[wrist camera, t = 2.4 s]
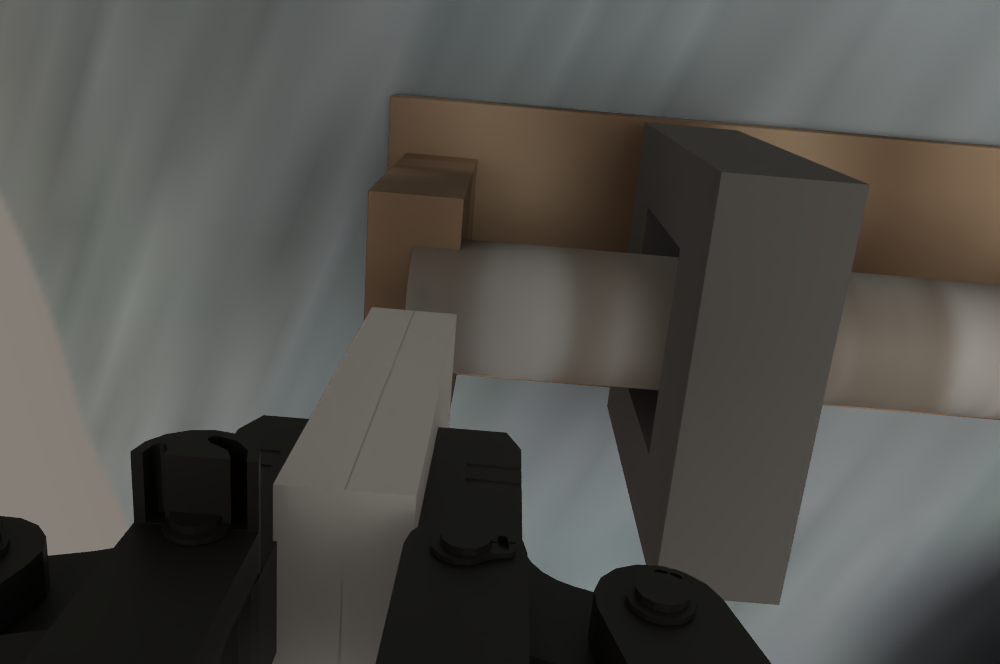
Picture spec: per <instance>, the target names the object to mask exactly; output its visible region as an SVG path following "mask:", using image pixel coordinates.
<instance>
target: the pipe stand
mask: <svg viewBox="0 0 1000 664" xmlns="http://www.w3.org/2000/svg"><path fill="white" fill-rule="evenodd" d="M645 122H647V123H658V124H670V125H682V126H693V127H705V128H716V129H728V130H738V131H740V132H743V133H745V134H747V135H750V136H752V137H755V138H757V139H760V140H762V141H765V142H767V143H769V144H772V145H774V146H777V147H779V148H782V149H784V150H786V151H789V152H791V153H794V154H796V155H799V156H801V157H804V158H806V159H808V160H811V161H813V162H816V163H818V164H821V165H823V166H826V167H828V168H830V169H833V170H835V171H838V172H840V173H843V174H845V175H848V176H850V177H852V178H855V179H857V180H860V181H862V182H865V183H867V184H869V185H870V187H869V192H868V197H867V201H866V206H865V210H864V215H863V220H862V224H861V229H860V233H859V238H858V243H857V247H856V252H855V257H854V261H853V266H852V270H851V275H850V280H849V284H848V289H847V293H846V298H845V303H844V307H843V312H842V317H841V321H840V326H839V330H838V335H837V340H836V344H835V349H834V353H833V358H832V363H831V367H830V372H829V376H828V381H827V386H826V390H825V395H824V400H823V404H822V405H828V406H840V407H852V408H863V409H875V410H887V411H899V412H911V413H923V414H935V415H947V416H959V417H971V418H983V419H995V420H1000V146H992V145H980V144H969V143H957V142H945V141H934V140H922V139H910V138H899V137H887V136H876V135H864V134H852V133H841V132H829V131H818V130H806V129H794V128H783V127H771V126H760V125H748V124H736V123H725V122H713V121H702V120H690V119H678V118H667V117H655V116H644V115H632V114H620V113H609V112H597V111H586V110H574V109H562V108H551V107H539V106H527V105H516V104H504V103H493V102H481V101H469V100H458V99H446V98H435V97H423V96H411V95H400V94H395V95H392V96H391V102H390V126H389V151H388V172H387V173H386V174H385V175H384V176H383V177H382V178H381V179H380V180H379V181H378V182H377V183H376V184H375V185H374V186H373V187H372V188H371V189H370V190H369V191H368V219H367V248H366V277H365V306H364V320H365V318H366V317H367V315H368V313H369V311H370V310H371V308H372V307H376V308H388V309H400V310H412V311H424V312H436V313H448V314H457V318H456V332H455V347H454V361H453V375H452V389H451V402H452V396H453V391H454V386H455V380H456V375H457V374H458V375H470V376H482V377H494V378H506V379H518V380H530V381H542V382H554V383H566V384H577V385H589V386H601V387H610V386H613V387H625V388H637V389H649V390H659V386H660V379H661V372H662V366H663V359H664V353H665V346H666V339H667V333H668V326H669V319H670V313H671V306H672V300H673V293H674V286H675V280H676V273H677V267H678V260H679V257H668V256H656V255H645V254H633V253H628V247H629V239H630V231H631V224H632V216H633V209H634V201H635V194H636V186H637V178H638V171H639V163H640V156H641V148H642V140H643V133H644V125H645ZM450 407H451V404H450Z"/></svg>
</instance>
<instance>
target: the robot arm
mask: <svg viewBox="0 0 1000 664" xmlns="http://www.w3.org/2000/svg"><path fill="white" fill-rule="evenodd" d="M456 318H457V314H448V313H436V312H424V311H412V310H400V309H388V308H376V307H372V308H371V310H370V311H369V313H368V315H367V317H366V318H365V320H364V322H363V324H362V326H361V327H360V329H359V331H358V333H357V335H356V336H355V338H354V340H353V342H352V344H351V345H350V347H349V349H348V351H347V353H346V354H345V356H344V358H343V360H342V362H341V363H340V365H339V367H338V369H337V370H336V372H335V374H334V376H333V378H332V379H331V381H330V383H329V385H328V387H327V388H326V390H325V392H324V394H323V396H322V397H321V399H320V401H319V403H318V405H317V406H316V408H315V410H314V412H313V414H312V415H311V417H310V419H302V418H290V417H278V416H266V415H263V416H262V417H260V418H258V419H256V420H254V421H252V422H251V423H249V424H247V425H245V426H243V427H241V428H239V429H238V430H237V432H236V433H235V434H234V433H229V432H223V431H217V430H189V431H183V432H177V433H170V434H165V435H163V436H160V437H157V438H154V439H151V440H148V441H145V442H144V443H142V444H141V445H139V446H138V447H137V448H135V449H134V450H132V451H131V470H132V489H133V507H134V523H133V524H132V526H131V527H130V528H129V529H128V531H127V532H126V533H125V534H124V536H123V537H122V538H121V539H120V541H119V542H118V543H117V544H116V546H115V547H114V548H111V549H105V550H98V551H91V552H81V553H72V554H62V555H52V556H48V555H47V543H46V536H45V534H44V533H43V531H42V530H41V529H40V527H39V526H38V525H36V524H34V523H31V522H29V521H27V520H24V519H22V518H14V517H4V516H0V664H272V662H273V664H771V663H770V661H769V660H768V659H767V657H766V656H765V655H764V653H763V652H762V651H761V649H760V648H759V647H758V645H757V644H756V643H755V641H754V640H753V639H752V637H751V636H750V635H749V633H748V632H747V631H746V629H745V628H744V627H743V625H742V624H741V623H740V621H739V620H738V619H737V618H736V616H735V615H734V614H733V612H732V611H731V610H730V608H729V607H728V606H727V604H726V603H725V602H724V600H723V599H722V598H721V597H720V596H719V595H718V594H717V593H716V592H715V591H714V590H713V589H711V588H710V587H709V586H708V585H707V584H706V583H704V582H702V581H700V580H698V579H696V578H694V577H692V576H690V575H689V574H687V573H684V572H682V571H679V570H676V569H673V568H672V569H670V568H669V567H664V566H658V565H654V566H652V565H632V566H627V567H622V568H616V569H614V570H613V571H611V572H609V573H608V574H606V575H604V576H603V577H601V578H600V580H599V582H598V584H597V586H596V588H595V590H594V592H591V591H588V590H584V589H581V588H577V587H574V586H571V585H569V584H566V583H563V582H560V581H558V580H556V579H554V578H552V577H550V576H549V575H547V574H545V573H543V572H542V571H541V570H540V569H538V568H537V567H536V566H535V565H534V564H533V563H531V561H530V560H529V558H528V557H527V551H526V548H525V545H524V543H523V540H522V490H521V449H520V448H519V447H518V446H517V444H516V443H515V442H514V441H513V440H512V439H511V437H510V436H509V435H508V434H507V433H503V432H491V431H479V430H467V429H455V428H449V418H450V404H451V389H452V375H453V361H454V347H455V332H456Z"/></svg>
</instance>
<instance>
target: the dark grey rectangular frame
mask: <svg viewBox="0 0 1000 664" xmlns="http://www.w3.org/2000/svg"><path fill="white" fill-rule="evenodd" d="M869 187H870V185H869V184H867V183H865V182H862V181H860V180H857V179H855V178H852V177H850V176H848V175H845V174H843V173H840V172H838V171H835V170H833V169H830V168H828V167H826V166H823V165H821V164H818V163H816V162H813V161H811V160H808V159H806V158H804V157H801V156H799V155H796V154H794V153H791V152H789V151H786V150H784V149H782V148H779V147H777V146H774V145H772V144H769V143H767V142H765V141H762V140H760V139H757V138H755V137H752V136H750V135H747V134H745V133H743V132H740V131H738V130H728V129H716V128H705V127H693V126H682V125H670V124H658V123H647V122H645V125H644V133H643V140H642V148H641V156H640V163H639V171H638V178H637V186H636V194H635V201H634V209H633V216H632V224H631V231H630V239H629V247H628V253H633V254H645V255H656V256H668V257H679V260H678V267H677V273H676V280H675V286H674V293H673V300H672V306H671V313H670V319H669V326H668V333H667V339H666V346H665V353H664V359H663V366H662V372H661V379H660V386H659V390H649V389H637V388H625V387H613V386H610V391H609V398H608V410H609V415H610V419H611V423H612V427H613V431H614V435H615V439H616V443H617V447H618V451H619V456H620V460H621V464H622V468H623V472H624V476H625V480H626V484H627V488H628V493H629V497H630V501H631V505H632V509H633V513H634V517H635V521H636V525H637V529H638V534H639V538H640V542H641V546H642V550H643V554H644V558H645V562H646V565H652V566H654V565H658V566H664V567H669V568H670V569H672V568H673V569H676V570H679V571H682V572H684V573H687V574H689V575H690V576H692V577H694V578H696V579H698V580H700V581H702V582H704V583H706V584H707V585H708V586H709V587H710V588H711V589H713V590H714V591H715V592H716V593H717V594H718V595H719V596H720V597H721V598H722V599H723V600H726V601H738V602H751V603H763V604H775V605H779V602H780V598H781V593H782V589H783V584H784V579H785V575H786V570H787V566H788V561H789V556H790V552H791V547H792V543H793V538H794V533H795V529H796V524H797V519H798V515H799V510H800V506H801V501H802V496H803V492H804V487H805V483H806V478H807V473H808V469H809V464H810V460H811V455H812V450H813V446H814V441H815V436H816V432H817V427H818V423H819V418H820V413H821V409H822V404H823V400H824V395H825V390H826V386H827V381H828V376H829V372H830V367H831V363H832V358H833V353H834V349H835V344H836V340H837V335H838V330H839V326H840V321H841V317H842V312H843V307H844V303H845V298H846V293H847V289H848V284H849V280H850V275H851V270H852V266H853V261H854V257H855V252H856V247H857V243H858V238H859V233H860V229H861V224H862V220H863V215H864V210H865V206H866V201H867V197H868V192H869Z"/></svg>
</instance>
